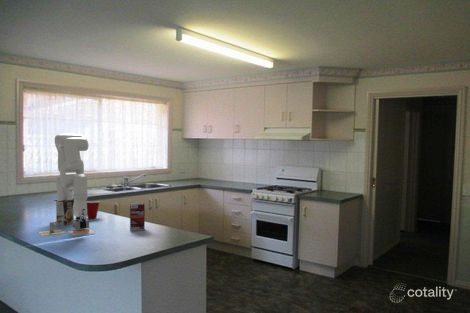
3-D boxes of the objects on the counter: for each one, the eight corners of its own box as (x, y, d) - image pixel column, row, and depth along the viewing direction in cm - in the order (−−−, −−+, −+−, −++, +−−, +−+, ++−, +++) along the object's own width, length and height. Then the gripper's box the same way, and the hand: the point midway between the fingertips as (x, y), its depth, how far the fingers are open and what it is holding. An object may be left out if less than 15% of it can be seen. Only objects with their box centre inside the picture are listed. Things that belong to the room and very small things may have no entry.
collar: (72, 227, 215) (72, 220, 215) (84, 225, 220) (84, 218, 220) (76, 229, 210) (76, 221, 210) (89, 227, 215) (89, 220, 215)
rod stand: (38, 234, 215) (37, 222, 214) (59, 230, 222) (59, 219, 222) (43, 238, 206) (43, 225, 205) (66, 234, 213) (66, 222, 213)
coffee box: (65, 227, 232) (64, 201, 231) (56, 227, 233) (55, 201, 232) (74, 224, 241) (73, 199, 240) (65, 223, 242) (65, 199, 241)
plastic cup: (103, 216, 266) (102, 200, 266) (96, 219, 255) (95, 202, 255) (88, 216, 267) (88, 199, 267) (81, 219, 256) (80, 202, 256)
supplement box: (130, 231, 221) (129, 204, 221) (130, 229, 226) (129, 203, 225) (144, 230, 223) (144, 204, 223) (144, 228, 228) (144, 202, 227)
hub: (67, 233, 216) (66, 219, 215) (87, 230, 224) (87, 216, 223) (73, 237, 207) (73, 222, 206) (95, 233, 215) (95, 219, 214)
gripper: (68, 195, 218) (69, 225, 219) (79, 198, 205) (79, 230, 206) (81, 194, 223) (82, 223, 224) (92, 197, 210) (93, 228, 211)
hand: (81, 226), depth 215 cm, fingers closed on collar, 6 cm apart
